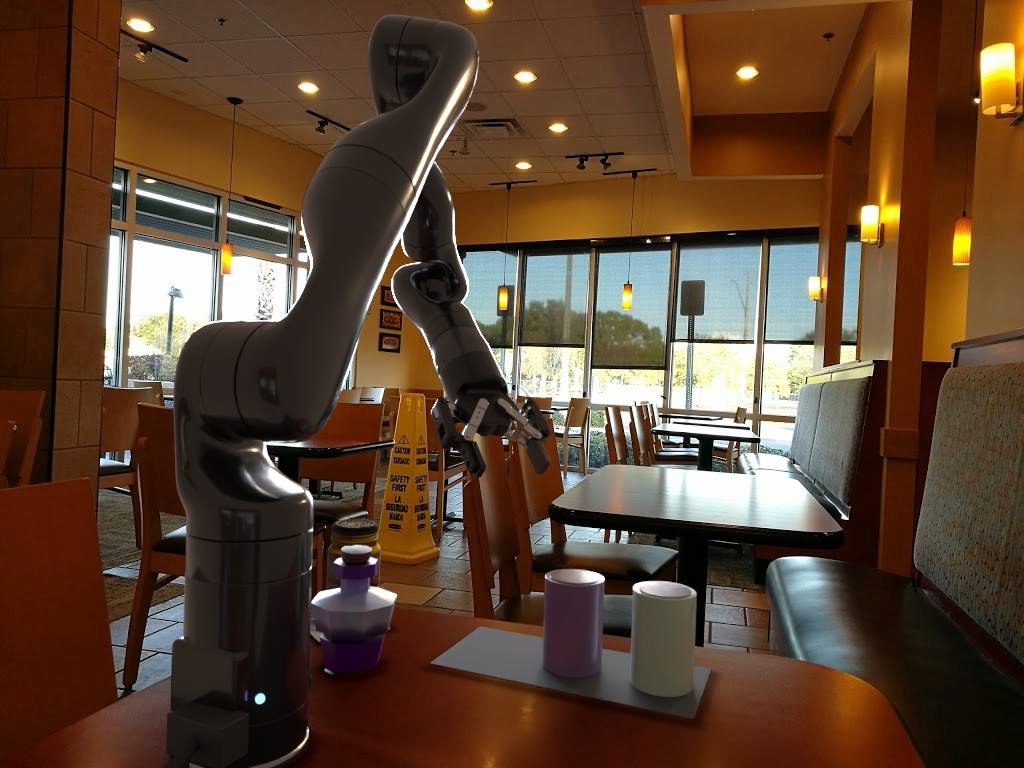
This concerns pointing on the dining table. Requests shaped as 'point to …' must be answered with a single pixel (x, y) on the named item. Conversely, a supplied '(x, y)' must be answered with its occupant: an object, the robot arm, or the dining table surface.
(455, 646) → the placemat
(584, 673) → the purple tumbler
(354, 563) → the potion bottle
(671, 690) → the celadon tumbler
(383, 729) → the dining table surface
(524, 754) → the dining table surface
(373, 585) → the condiment
